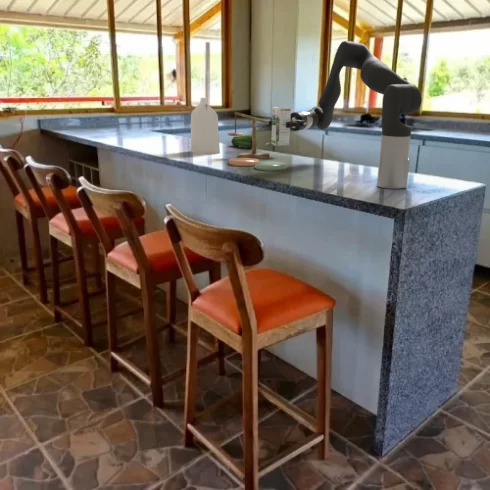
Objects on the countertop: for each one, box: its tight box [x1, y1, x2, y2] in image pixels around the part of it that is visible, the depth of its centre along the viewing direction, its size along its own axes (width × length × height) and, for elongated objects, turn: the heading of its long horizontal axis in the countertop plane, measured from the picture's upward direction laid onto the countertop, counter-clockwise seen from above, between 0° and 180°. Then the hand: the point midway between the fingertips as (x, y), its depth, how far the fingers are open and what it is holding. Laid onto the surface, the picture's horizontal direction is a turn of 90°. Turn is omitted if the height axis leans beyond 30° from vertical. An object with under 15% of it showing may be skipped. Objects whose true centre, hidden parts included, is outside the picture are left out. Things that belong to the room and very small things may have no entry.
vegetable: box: [231, 134, 259, 150], centre depth 255 cm, size 7×7×20 cm
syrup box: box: [271, 105, 292, 147], centre depth 187 cm, size 6×6×14 cm
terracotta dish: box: [228, 157, 260, 167], centre depth 205 cm, size 13×13×2 cm
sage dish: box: [254, 161, 288, 172], centre depth 196 cm, size 13×13×2 cm
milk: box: [190, 97, 221, 155], centre depth 233 cm, size 12×12×26 cm
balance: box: [227, 111, 277, 159], centre depth 220 cm, size 24×7×20 cm, turn 91°
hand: (278, 124), depth 185 cm, fingers closed on syrup box, 7 cm apart
